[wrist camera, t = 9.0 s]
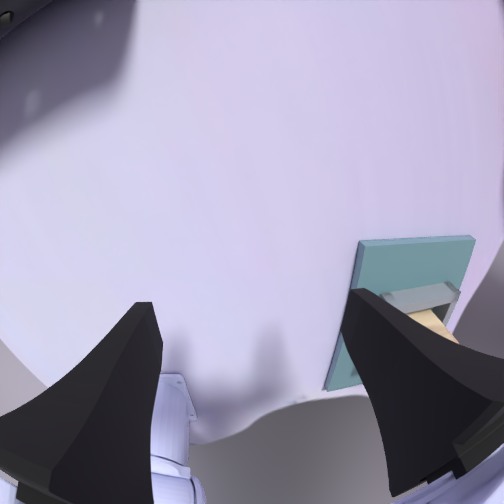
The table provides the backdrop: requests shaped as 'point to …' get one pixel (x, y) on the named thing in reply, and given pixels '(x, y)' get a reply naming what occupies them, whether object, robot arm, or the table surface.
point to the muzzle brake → (17, 13)
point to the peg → (431, 322)
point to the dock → (405, 284)
